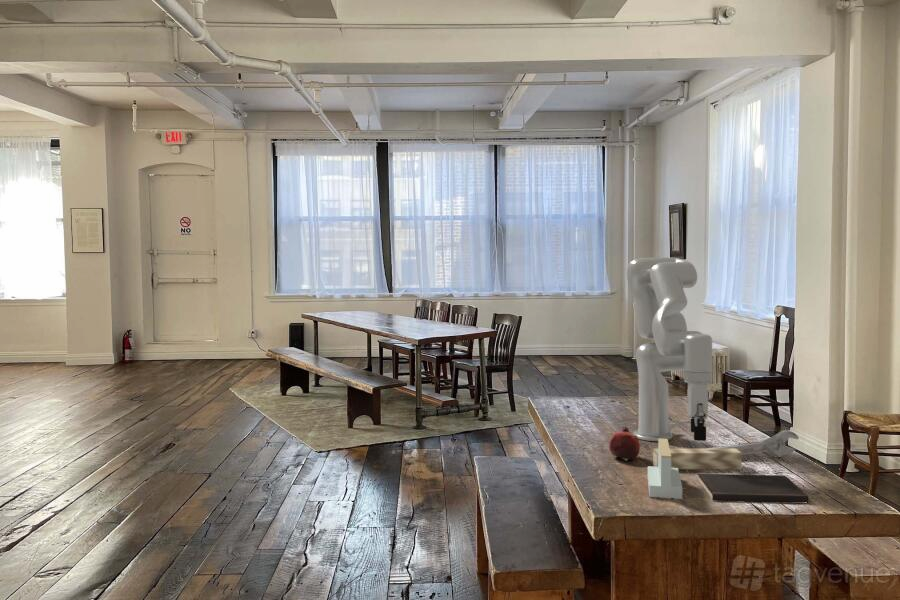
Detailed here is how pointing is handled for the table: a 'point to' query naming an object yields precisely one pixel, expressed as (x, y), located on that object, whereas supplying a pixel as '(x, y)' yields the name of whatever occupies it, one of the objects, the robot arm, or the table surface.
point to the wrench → (766, 445)
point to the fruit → (624, 445)
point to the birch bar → (703, 458)
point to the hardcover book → (752, 488)
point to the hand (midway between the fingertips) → (698, 436)
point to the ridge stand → (664, 475)
